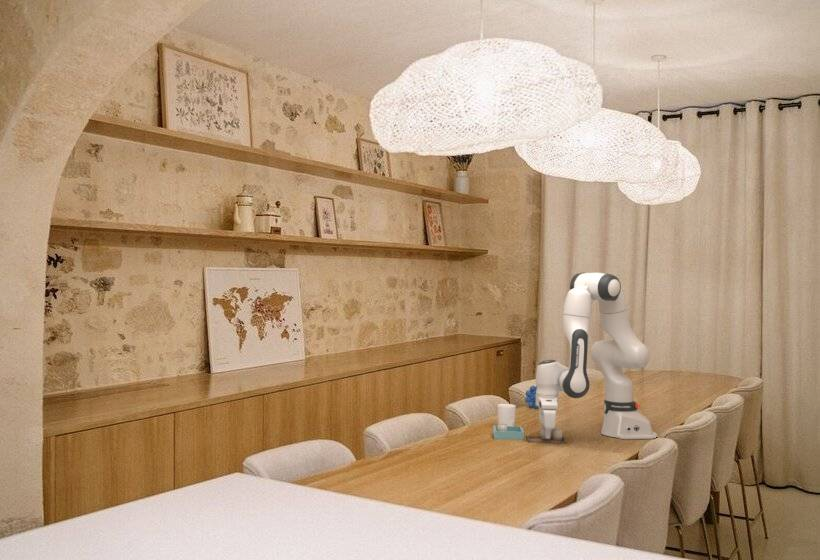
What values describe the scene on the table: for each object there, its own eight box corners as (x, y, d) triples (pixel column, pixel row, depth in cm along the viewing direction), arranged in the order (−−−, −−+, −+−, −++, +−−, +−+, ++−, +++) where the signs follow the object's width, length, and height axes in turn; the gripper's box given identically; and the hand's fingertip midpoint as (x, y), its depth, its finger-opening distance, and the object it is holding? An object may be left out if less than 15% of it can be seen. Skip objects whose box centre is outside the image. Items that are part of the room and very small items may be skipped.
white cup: (514, 431, 312) (515, 407, 312) (496, 430, 314) (496, 406, 314) (516, 427, 320) (516, 404, 320) (497, 426, 321) (498, 403, 321)
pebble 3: (561, 439, 295) (561, 428, 295) (562, 441, 291) (563, 430, 291) (551, 439, 295) (551, 428, 295) (552, 441, 291) (552, 430, 291)
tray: (563, 439, 297) (563, 436, 297) (566, 444, 288) (566, 441, 288) (525, 438, 298) (526, 435, 298) (528, 443, 289) (528, 440, 289)
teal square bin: (521, 434, 305) (521, 426, 305) (524, 441, 293) (524, 432, 293) (492, 434, 305) (493, 425, 305) (494, 440, 294) (494, 431, 294)
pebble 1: (506, 435, 301) (507, 424, 301) (507, 437, 297) (507, 426, 297) (497, 434, 302) (497, 423, 301) (497, 437, 298) (497, 425, 297)
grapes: (550, 408, 368) (550, 384, 368) (546, 410, 362) (546, 385, 362) (527, 406, 373) (527, 382, 373) (523, 408, 367) (523, 383, 367)
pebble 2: (550, 439, 295) (550, 428, 295) (551, 441, 291) (552, 430, 291) (540, 439, 295) (540, 427, 295) (541, 441, 291) (541, 429, 291)
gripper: (535, 396, 303) (535, 430, 303) (542, 405, 283) (541, 441, 283) (551, 397, 303) (550, 430, 303) (558, 405, 283) (558, 441, 283)
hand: (546, 436), depth 293 cm, fingers open, 6 cm apart
